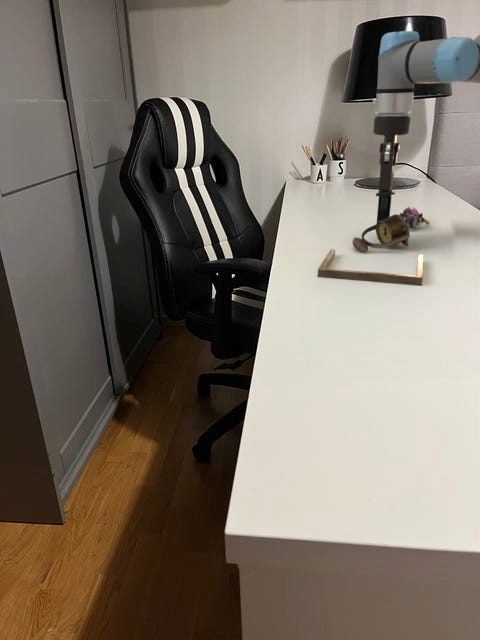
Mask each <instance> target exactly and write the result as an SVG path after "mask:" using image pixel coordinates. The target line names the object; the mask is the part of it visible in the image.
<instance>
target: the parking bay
mask: <svg viewBox="0 0 480 640" xmlns="http://www.w3.org/2000/svg"><path fill="white" fill-rule="evenodd" d="M335 256H336V248H330V250H329V251H328V253H327V254H326V256H325V258H324V259H323V261H322V262H321V264H320V266H319V267H318V268H317V277H318V278H327V279H329V278H330V279H338V280H339V279H341V280H351V281H364V282H365V281H366V282H376V283H387V284H400V285H411V286H422V285H423V277H424V276H423V275H424V254H418V255H417V265H416V275H413V274H401V273H391V272H390V273H389V272H388V273H387V272H375V271H364V270H362V271H361V270H350V269H339V268H329V267H330V265H331V264H332V263H333V260H334V258H335Z"/></svg>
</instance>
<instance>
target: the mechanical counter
mask: <svg viewBox="0 0 480 640" xmlns="http://www.w3.org/2000/svg"><path fill="white" fill-rule="evenodd" d="M374 230H375V235H376V237H377V239H378V241H379V243H374V242H370V241H368V240H367V239H365V236H366V235H367V234H368V233H369V232H372V231H374ZM410 234H411V233H410V228H409V226H408V225H407V223H406V221H405V220H404V219H403V218H402V217H401V216H400V214H392V215H390V217H388V218H385V219H383V220H381V221H378V222H377V221H376V223H375V224H374V225H371V226H369V227H367V228H366V229H364V230H363V231H362V233H361V238H360V237H356V236H355V237H353V238H352V241H351V242H352V246H353V248H354V249H355V250H356V251H359V252H361V253H362V252H363V253H365V252H368V251H369V248H372V249H384V248H392V247H394V246H396V245H399V244H402V245H404V246H405V247H408V246H409V238H410Z"/></svg>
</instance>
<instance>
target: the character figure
mask: <svg viewBox="0 0 480 640" xmlns="http://www.w3.org/2000/svg"><path fill="white" fill-rule="evenodd" d="M399 215H400V216H401V217H402V218H403V219H404V220H405V221H406V223H407V226H408V227H410V228H411V229H414V228H417V225H418V224H419V223H420V224H421V223H425V226H428V225H430V221H428V220H427V219H425V218H424V217H423V215H424V213H423V212H421V213H420V212H419V211H418V209H417V208H415V207H414V206H412V208H411V207H410V206H407V207H406V208H404V209H403V211H402V212H400V213H399ZM410 228H409V229H410Z"/></svg>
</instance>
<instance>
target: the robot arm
mask: <svg viewBox="0 0 480 640" xmlns="http://www.w3.org/2000/svg"><path fill="white" fill-rule="evenodd" d="M377 60H378V62H377V63H378V67H377V86H376V95H375V97H376V98H373V99H372V103H373V104H375V110H374V113H375V114H376V115H377V116H374V120H373V129H372V130H373V131H372V132H373V135H375V136H383V142H381V143H380V144H379V153H380V154H379V155H380V156H379V166H380V170H379V185H378V192H376V193H375V196H376V197H378V203H377V214H376V223H377V222H378V221H381V220H383V219H385V218H388V217H390V216H391V208H392V207H391V206H392V195H394V196H395V194H396V191H394V190H393V189H394V177H395V166H396V164H397V162H398V156H399V155H398V153H399V151H400V146H401V145H400V144H401V143H400V142H397V139H398V136H406V135H408V134H409V133H410V130H411V129H410V128H411V115H409V114H411V113H412V111H413V101H414V94H415V93H414V89H415V85H416V84H417V85H418V84H456V83H474V84H480V34H479V35H478V36H476V37H475V38H474V39H473V38H471V37H468V36H453V37H452V36H450V37H449V38H441V39H433V40H424V41H423V40H422V41H421V40H420V34H419V32H417V31H414V30H404V31H403V30H401V31H391V32H387V33H385V34H384V35H383V36H381V40H380V46H379V53H378V57H377Z"/></svg>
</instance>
